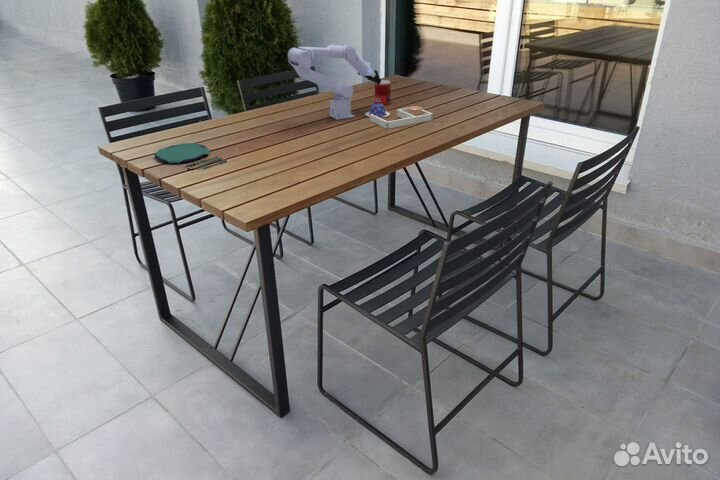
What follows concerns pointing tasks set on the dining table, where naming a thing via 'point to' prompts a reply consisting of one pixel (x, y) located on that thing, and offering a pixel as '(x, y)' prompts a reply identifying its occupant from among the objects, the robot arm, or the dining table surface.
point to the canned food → (383, 92)
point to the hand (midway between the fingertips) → (375, 80)
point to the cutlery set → (186, 154)
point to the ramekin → (415, 110)
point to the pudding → (377, 110)
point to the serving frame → (406, 119)
